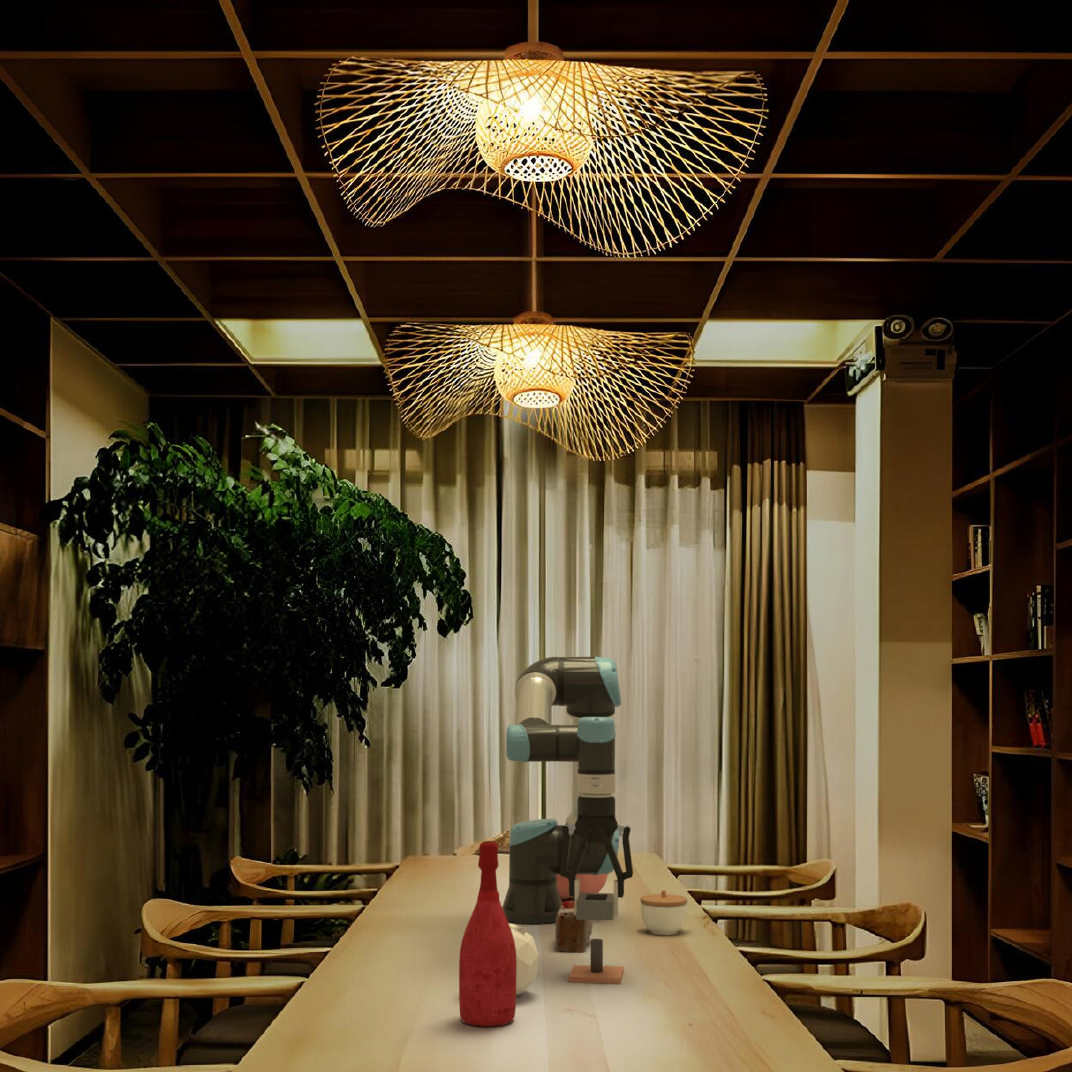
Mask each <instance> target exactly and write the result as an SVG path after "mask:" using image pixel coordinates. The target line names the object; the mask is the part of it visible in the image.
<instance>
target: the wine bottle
mask: <svg viewBox="0 0 1072 1072" xmlns="http://www.w3.org/2000/svg"><path fill="white" fill-rule="evenodd" d="M478 848H479V849H478V850H479V853H478V854H479V855H478V863H477V866H478V868H479V869H480V882H479V883H480V885H479V889H478V895H477V897H476V898H477V899H476V904H475V906H474V909H473V910H472V913H471V915H470V918H469V920H468V922H467V924H466V928H465V929H464V930H465V931H464V932H463V936H462V938H461V939H462V940H461V943H460V949H459V959H458V960H459V962H458V978H459V979H458V995H459V996H458V998H459V999H458V1000H459V1017H460V1019H461V1021H462V1022H464V1023H466V1024H467V1025H471V1026H474V1027H483V1028H484V1027H485V1028H486V1027H487V1028H488V1027H489V1028H490V1027H499V1026H504V1025H507V1024H509V1023H511V1022H512V1021H513V1020H514V1018H515V1017H516V1008H517V1007H516V1006H517V1005H516V1003H517V995H516V975H517V961H516V947H515V942H514V938H513V935H512V931H511V928H510V926H509V924H510V922H509V921H507V918H506V916H505V914H504V911H503V908H502V907H503V905H502V903H501V901H500V892H499V891H498V881H497V870H498V867H499V858H498V857H499V856H498V854H499V852H498V851H499V845H498V843H497V841H492V840H485V841H482V842H481V843H480V845H479V847H478Z"/></svg>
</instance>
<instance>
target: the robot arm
mask: <svg viewBox="0 0 1072 1072" xmlns="http://www.w3.org/2000/svg"><path fill="white" fill-rule="evenodd" d="M619 681H620V680H619V674H618V668H617V663H616V661H615V660H614V659H613V658H612V657H599V656H596V655H595V656H550V657H545V658H542V659H540V660H538V661H536V662H533V663H532V664H530V665H528V667H526V669H524V670H523V671H522V672H521V674H520V675H519V676H518V678H517V680H516V682H515V686H514V696H515V699H516V702H517V703H518V704H517V706H518V707H517V718H516V724H511V725H508V726H507V727H506V736H505V739H506V740H505V741H506V743H505V746H506V749H505V750H506V752H505V753H506V754H505V755H506V759H508V760H509V761H510V762H511V761H512V762H522V763H532V762H533V763H535V762H537V763H538V762H543V763H544V762H546V763H547V762H551V763H552V762H569V763H570V762H572V783H571V785H572V789H571V790H572V791H571V792H572V794H571V795H572V799H571V800H572V801H571V803H572V804H571V805H572V806H571V807H572V808H571V809H572V810H571V813H570V814H569V815H568V816H567V817H565V818H566V819H565V824H559V825H558V823H559V822H558V821H557V819H556V818H542V819H541V818H540V819H532V820H527V821H526V820H525V821H522V822H518V823H515V824H514V825H512V826H511V828H510V830H509V843H508V846H509V859H508V860H509V863H508V866H509V868H508V869H509V871H508V873H509V875H508V883H509V884H508V888H507V891H506V895H505V898H504V901H503V904H502V908H503V911H504V914H505V916H506V918H507V921H508V923H510V922H511V923H514V924H528V925H530V924H531V925H532V924H533V925H535V924H536V925H540V924H550V923H556V917H557V914H558V912H559V910H560V907H561V906H562V903H563V902H562V899H561V898H560V895H559V892H558V888H557V874H560V875H561V876H563V877H566V878H568V880H569V895H570V896H575V899H574V901H575V915H576V901H577V899H578V897H579V896H580V879H576V874H590V875H598V874H609V875H610V874H611V873H613V872H614V874H615V876H616V879H615V878H614V879H613V893H614V917H618V916H619V913H620V912H619V910H620V909H619V899H621V898H624V895H625V880H627V879H631V878H632V877H633V875H634V869H633V861H632V854H631V853H632V852H631V845H630V844H631V843H630V834H631V829H632V827H631V826H630V825H624V824H623V825H622V824H619V823H618V821H617V819H616V798H615V796H613V795H614V794H615V793H616V765H615V764H616V736H617V733H616V727H615V726H616V725H615V719H613V718H612V717H614V715H615V714H616V708H618V707H620V706H622V700H621V688H620V684H619ZM553 706H556V707H557V706H558V707H566V715H568V717H570V718H571V719H572V724H552V716H553V714H552V713H553V712H552V707H553ZM620 837H621V838H622V839H621V840H622V841H621V842H622V849H623V855H624V856H623V860H624V867H625V871H623V869H622V867H621V863H620V861H619V858H618V856H619V855H618V853H619V845H620Z"/></svg>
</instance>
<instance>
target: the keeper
mask: <svg viewBox="0 0 1072 1072" xmlns="http://www.w3.org/2000/svg"><path fill="white" fill-rule="evenodd" d="M603 941H604V940H603V939H601V938H590V965H588V964H587V965H585V964H583V965H582V964H573V965H572V968H571V970H570V973H569V975H568V983H586V984H587V983H588V984H612V985H614V984H617V985H621V984H622V980H623V977H624V972H625V970H624V969H625V968H624V966H623V965H622V966H621V965H618V966H616V965H615V966H614V965H604V961H603V960H604V959H603V957H604V954H603V953H604V948H603V945H604V942H603Z"/></svg>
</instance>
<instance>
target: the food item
mask: <svg viewBox="0 0 1072 1072" xmlns="http://www.w3.org/2000/svg"><path fill="white" fill-rule="evenodd" d="M593 921H594V920H576V915H575V900H563V902H562V906H561V907H560V910H559V912H558V914H557V917H556V922H554V924H555V932H554V933H555V935H554V936H555V945H556V948H557V951H558V952H562V953H583V952H584V951H585V950H586V948H588V947H589V942H590V941H591V935H592V933H593V931H592V930H593V923H594V922H593Z"/></svg>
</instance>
